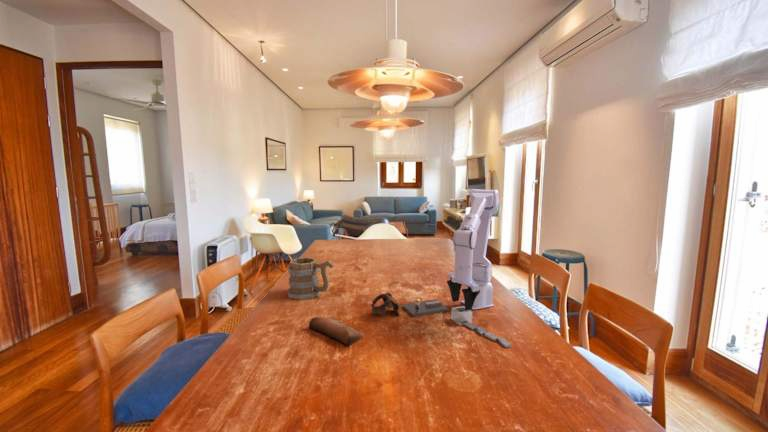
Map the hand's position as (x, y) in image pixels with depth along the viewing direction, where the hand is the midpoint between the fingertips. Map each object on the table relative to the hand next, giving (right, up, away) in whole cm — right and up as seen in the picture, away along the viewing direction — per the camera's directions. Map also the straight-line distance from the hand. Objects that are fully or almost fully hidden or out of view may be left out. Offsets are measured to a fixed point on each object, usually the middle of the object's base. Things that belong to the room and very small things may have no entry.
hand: (461, 305), depth 110 cm
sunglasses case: (-41, -7, -8) cm, 42 cm away
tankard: (-56, -2, +23) cm, 60 cm away
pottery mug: (-25, -5, +7) cm, 27 cm away
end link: (0, -6, +1) cm, 6 cm away
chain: (+6, -7, -9) cm, 12 cm away
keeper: (-11, -4, +10) cm, 16 cm away
